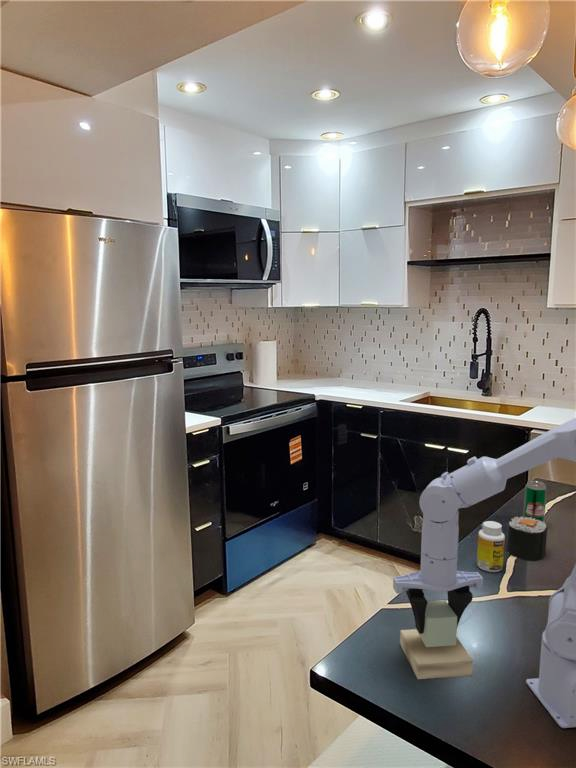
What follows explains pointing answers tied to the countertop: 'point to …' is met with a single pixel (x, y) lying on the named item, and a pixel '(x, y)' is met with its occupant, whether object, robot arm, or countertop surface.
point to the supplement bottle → (490, 547)
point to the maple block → (435, 657)
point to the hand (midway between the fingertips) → (435, 628)
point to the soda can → (535, 500)
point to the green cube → (439, 625)
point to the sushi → (527, 538)
